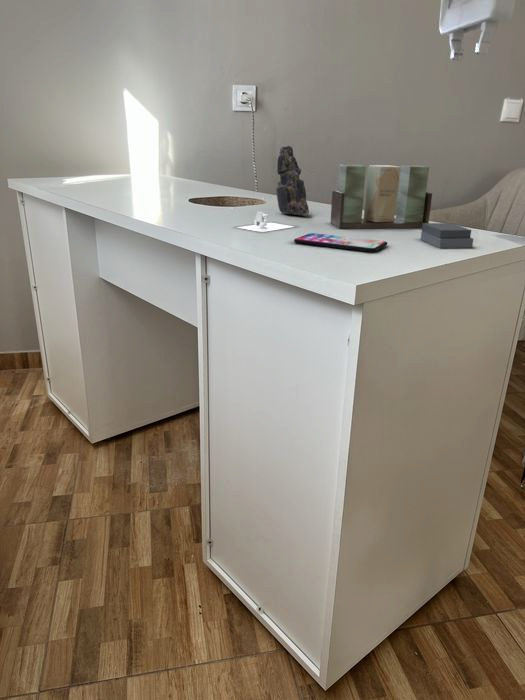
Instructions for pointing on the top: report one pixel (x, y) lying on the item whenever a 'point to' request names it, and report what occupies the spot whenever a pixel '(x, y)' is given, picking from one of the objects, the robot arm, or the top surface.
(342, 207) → the book rack
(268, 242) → the top surface
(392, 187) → the box
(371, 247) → the smartphone
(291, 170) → the statue
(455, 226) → the grey books
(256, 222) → the adhesive hook
